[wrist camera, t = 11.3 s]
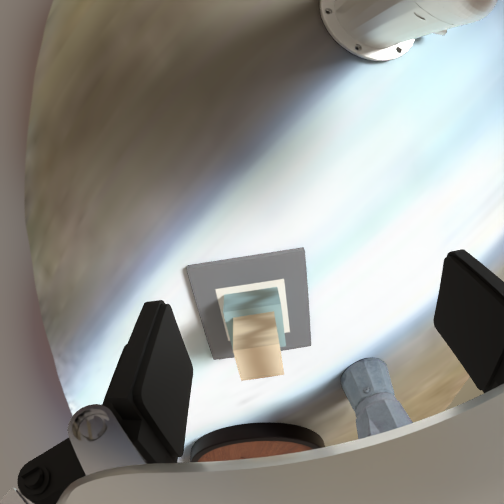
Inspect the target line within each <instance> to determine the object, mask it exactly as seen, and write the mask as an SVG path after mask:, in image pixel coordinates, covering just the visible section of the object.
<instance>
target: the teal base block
mask: <svg viewBox="0 0 504 504" xmlns="http://www.w3.org/2000/svg"><path fill="white" fill-rule="evenodd" d="M273 311H274V315H275V320H276V326H277V332H278V338H279V344H280V347H285V346H286V341H285V333H284V325H283V316H282V308H281V302H280V297H279V293H278V288H277V287H272V288H265V289H259V290H252V291H246V292H239V293H232V294H225V295H224V307H223V314H224V318H225V322H226V326H227V330H228V333H229V337H230V341H231V345H232V349H233V318H234V317H241V316H248V315H254V314H260V313H267V312H273Z"/></svg>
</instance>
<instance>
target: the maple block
mask: <svg viewBox="0 0 504 504" xmlns="http://www.w3.org/2000/svg"><path fill="white" fill-rule="evenodd" d="M233 353H234V356H235V360H236V364H237V367H238V371H239V374H240V378H241V381H243V380H251V379H258V378H265V377H272V376H278V375H284V371H283V364H282V357H281V350H280V344H279V338H278V332H277V326H276V320H275V315H274V311H273V312H267V313H260V314H254V315H248V316H241V317H234V318H233Z"/></svg>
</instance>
